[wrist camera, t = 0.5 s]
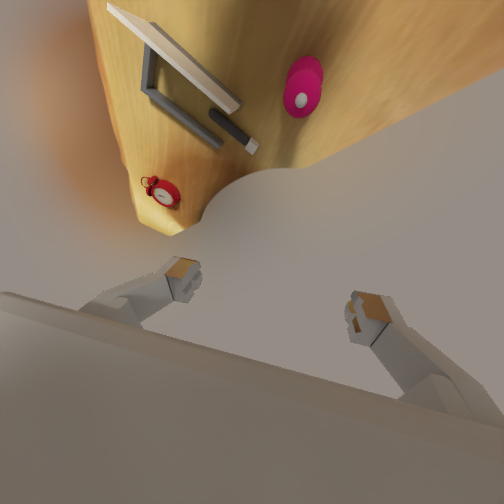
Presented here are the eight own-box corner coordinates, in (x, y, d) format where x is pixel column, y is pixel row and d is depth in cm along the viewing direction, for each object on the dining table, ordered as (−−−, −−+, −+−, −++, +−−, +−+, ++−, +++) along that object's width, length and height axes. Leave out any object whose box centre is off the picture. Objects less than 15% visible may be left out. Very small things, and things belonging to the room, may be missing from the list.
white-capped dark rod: (209, 114, 48) (205, 117, 46) (212, 104, 46) (209, 106, 44) (254, 151, 53) (252, 155, 51) (259, 143, 51) (257, 147, 49)
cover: (145, 26, 36) (146, 21, 35) (238, 108, 43) (240, 105, 42) (106, 9, 27) (107, 2, 27) (228, 114, 35) (231, 110, 34)
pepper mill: (301, 107, 43) (297, 140, 31) (280, 81, 40) (267, 105, 28) (329, 75, 38) (337, 98, 26) (307, 42, 35) (304, 50, 23)
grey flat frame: (154, 22, 37) (146, 22, 35) (242, 102, 44) (239, 106, 42) (147, 87, 46) (140, 90, 44) (221, 145, 53) (218, 149, 51)
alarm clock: (175, 213, 75) (135, 198, 68) (179, 202, 78) (140, 187, 72) (182, 197, 68) (137, 178, 61) (185, 186, 71) (143, 167, 64)
